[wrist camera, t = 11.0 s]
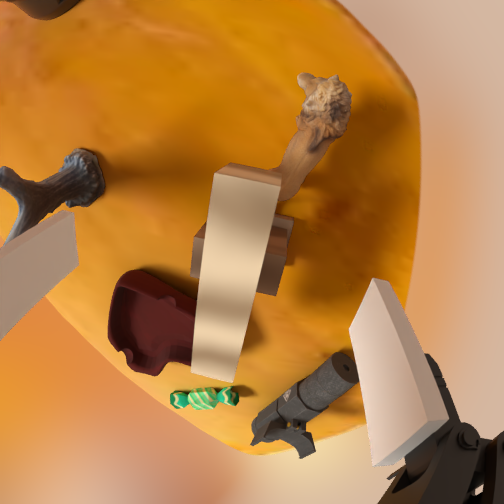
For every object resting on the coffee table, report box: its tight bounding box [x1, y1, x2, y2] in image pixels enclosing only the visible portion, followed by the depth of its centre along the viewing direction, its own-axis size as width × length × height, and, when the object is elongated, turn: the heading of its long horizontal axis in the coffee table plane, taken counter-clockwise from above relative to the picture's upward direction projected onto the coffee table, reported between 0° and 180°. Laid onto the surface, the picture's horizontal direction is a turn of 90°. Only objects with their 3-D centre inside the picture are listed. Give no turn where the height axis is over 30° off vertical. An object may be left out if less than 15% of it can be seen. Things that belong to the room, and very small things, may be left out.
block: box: [191, 163, 282, 383], centre depth 22 cm, size 18×4×5 cm, turn 169°
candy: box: [170, 386, 239, 410], centre depth 44 cm, size 12×3×4 cm
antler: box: [0, 149, 105, 246], centre depth 20 cm, size 12×8×25 cm
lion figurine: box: [269, 73, 352, 201], centre depth 23 cm, size 15×5×9 cm, turn 159°
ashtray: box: [108, 270, 197, 376], centre depth 36 cm, size 18×16×5 cm
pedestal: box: [190, 213, 294, 296], centre depth 28 cm, size 6×9×8 cm, turn 80°
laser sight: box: [250, 352, 360, 459], centre depth 38 cm, size 10×22×10 cm, turn 150°
